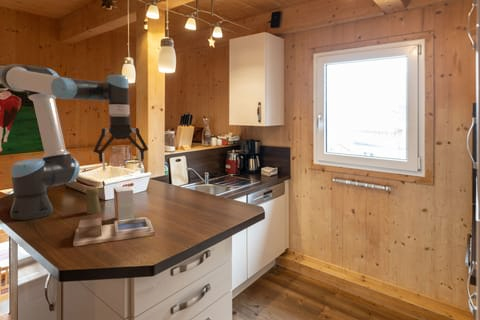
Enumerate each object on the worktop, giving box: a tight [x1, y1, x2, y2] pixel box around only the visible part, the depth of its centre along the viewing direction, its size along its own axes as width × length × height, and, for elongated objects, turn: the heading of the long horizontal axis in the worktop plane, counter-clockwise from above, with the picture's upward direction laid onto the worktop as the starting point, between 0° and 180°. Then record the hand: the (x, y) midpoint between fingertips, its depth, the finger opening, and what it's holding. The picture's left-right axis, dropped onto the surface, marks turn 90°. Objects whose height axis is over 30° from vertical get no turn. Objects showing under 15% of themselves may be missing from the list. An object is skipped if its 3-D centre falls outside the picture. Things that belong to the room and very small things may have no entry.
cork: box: [85, 186, 102, 215], centre depth 137 cm, size 6×6×11 cm
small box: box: [113, 185, 135, 221], centre depth 128 cm, size 8×6×13 cm
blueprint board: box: [72, 216, 156, 247], centre depth 113 cm, size 26×14×5 cm, turn 113°
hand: (122, 169), depth 125 cm, fingers open, 13 cm apart
